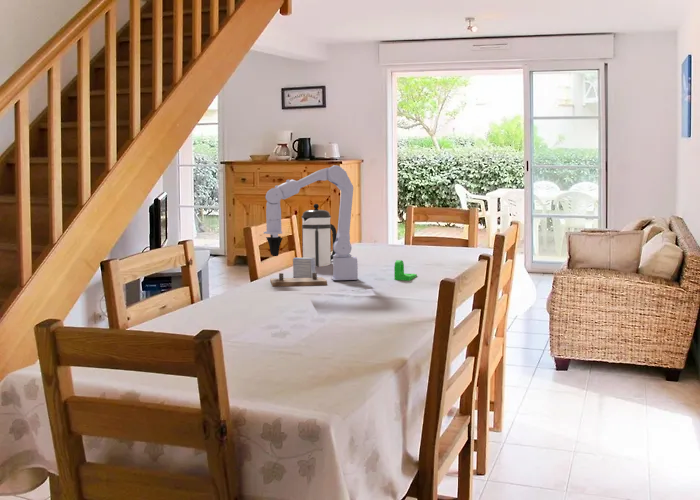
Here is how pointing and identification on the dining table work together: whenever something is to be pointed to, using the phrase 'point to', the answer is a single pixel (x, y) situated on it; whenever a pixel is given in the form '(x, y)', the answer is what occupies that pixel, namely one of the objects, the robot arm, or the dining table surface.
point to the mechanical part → (401, 272)
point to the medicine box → (303, 267)
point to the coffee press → (317, 236)
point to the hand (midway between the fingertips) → (274, 255)
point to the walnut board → (298, 281)
